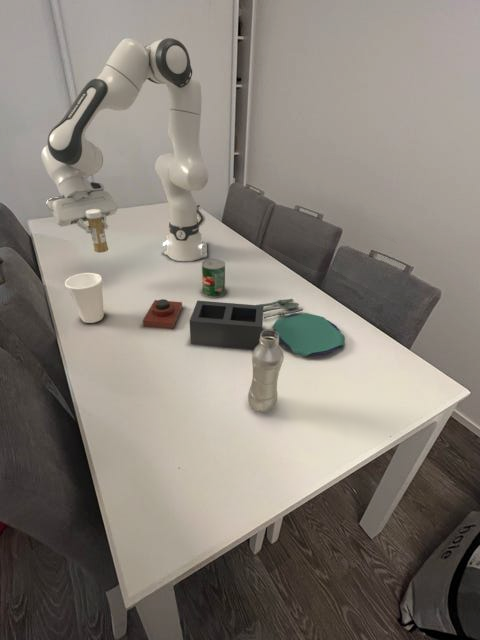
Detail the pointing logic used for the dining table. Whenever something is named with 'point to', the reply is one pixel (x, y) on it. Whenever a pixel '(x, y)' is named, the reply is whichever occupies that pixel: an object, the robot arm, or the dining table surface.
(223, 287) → the canned tomato
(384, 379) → the dining table surface
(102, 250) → the sprinkles bottle
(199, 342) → the dark grey hollow block
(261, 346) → the plastic bottle
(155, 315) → the button block
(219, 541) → the dining table surface
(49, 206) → the robot arm
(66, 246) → the dining table surface
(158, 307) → the button
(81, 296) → the cup
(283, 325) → the cutlery set
